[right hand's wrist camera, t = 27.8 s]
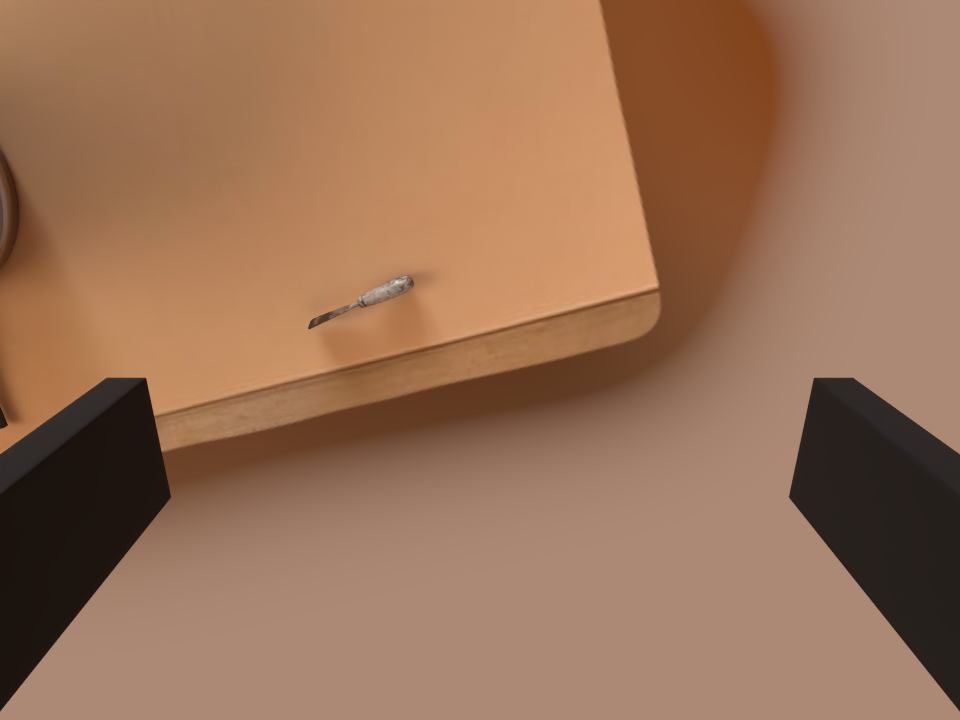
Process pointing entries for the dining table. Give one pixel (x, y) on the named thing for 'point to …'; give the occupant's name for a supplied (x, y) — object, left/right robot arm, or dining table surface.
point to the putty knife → (371, 298)
